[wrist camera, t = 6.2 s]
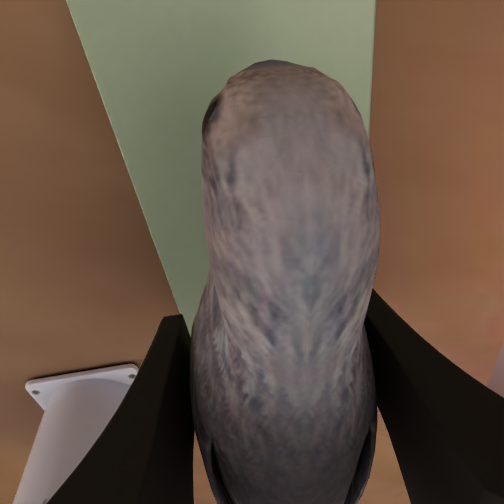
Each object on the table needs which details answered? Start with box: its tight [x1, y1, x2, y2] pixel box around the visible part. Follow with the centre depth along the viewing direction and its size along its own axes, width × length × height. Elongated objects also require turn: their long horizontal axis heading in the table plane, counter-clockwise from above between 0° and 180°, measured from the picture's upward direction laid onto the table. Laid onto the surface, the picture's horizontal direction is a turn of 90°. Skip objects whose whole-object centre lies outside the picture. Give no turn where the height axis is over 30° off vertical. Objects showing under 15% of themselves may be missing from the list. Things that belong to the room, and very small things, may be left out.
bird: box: [190, 59, 380, 504], centre depth 11 cm, size 5×16×8 cm, turn 3°
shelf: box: [66, 0, 376, 336], centre depth 19 cm, size 19×10×3 cm, turn 8°
